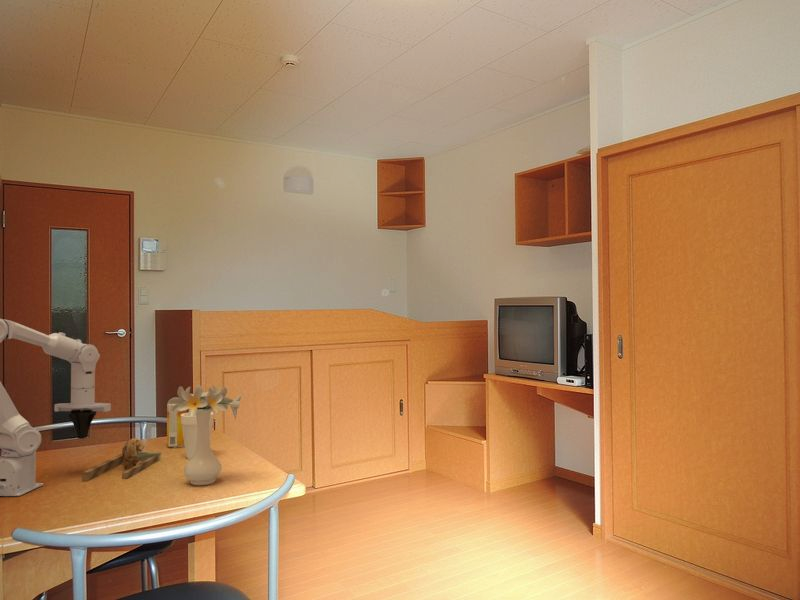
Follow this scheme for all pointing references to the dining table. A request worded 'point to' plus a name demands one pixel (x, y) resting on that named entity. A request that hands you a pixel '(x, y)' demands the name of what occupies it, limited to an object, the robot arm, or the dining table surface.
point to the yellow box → (174, 427)
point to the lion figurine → (131, 452)
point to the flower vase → (203, 429)
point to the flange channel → (144, 456)
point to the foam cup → (192, 432)
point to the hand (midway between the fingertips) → (82, 437)
